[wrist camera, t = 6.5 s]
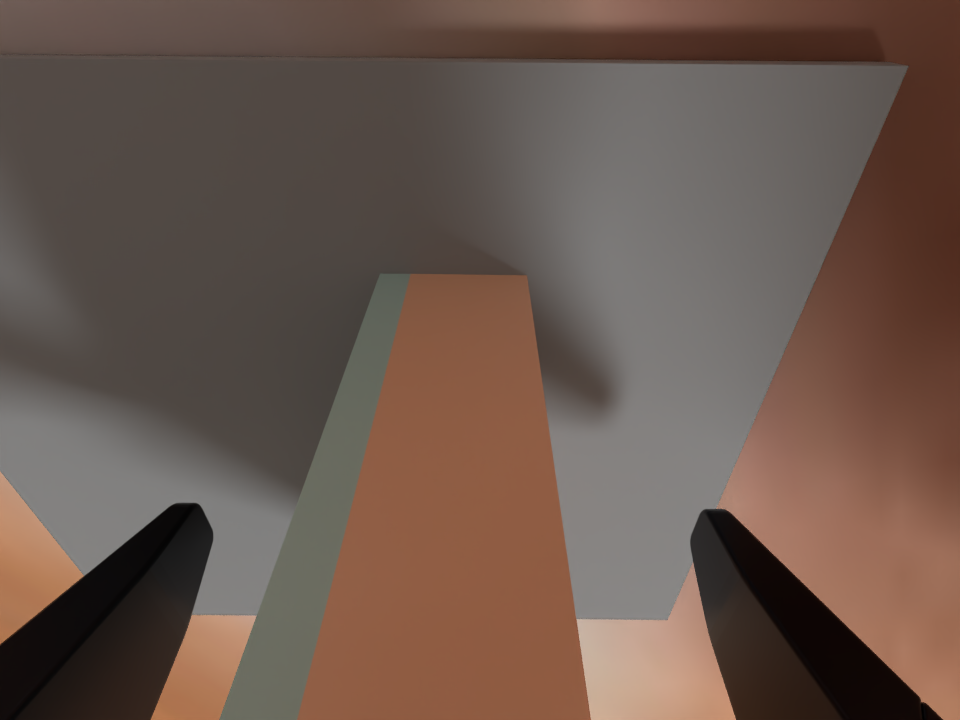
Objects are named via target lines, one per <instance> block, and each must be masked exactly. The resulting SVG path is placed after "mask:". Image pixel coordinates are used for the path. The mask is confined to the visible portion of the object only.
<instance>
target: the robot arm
mask: <svg viewBox="0 0 960 720" xmlns="http://www.w3.org/2000/svg"><path fill="white" fill-rule="evenodd" d="M212 544H213V529H212V527H211V525H210V523H209V521H208V519H207V517H206V515H205V513H204V511H203V509H202V507H201V505H199V504H198V503H175V504H173V505H171V506H169V507H168V508H167V509H166V510H164V511H163V512H162V513H161V514H159V515H158V516H157V517H156V518H155V519H153V520H152V521H151V522H150V523H148V524H147V525H146V526H145V527H144V528H142V529H141V530H140V531H139V532H137V533H136V534H135V535H134V536H132V537H131V538H130V539H129V540H128V541H126V542H125V543H124V544H123V545H121V546H120V547H119V548H118V549H117V550H115V551H114V552H113V553H112V554H110V555H109V556H108V557H107V558H106V559H104V560H103V561H102V562H101V563H99V564H98V565H97V566H96V567H95V568H93V569H92V570H91V571H90V572H88V573H87V574H86V575H85V576H83V577H82V578H81V579H80V580H79V581H77V582H76V583H75V584H74V585H72V586H71V587H70V588H69V589H68V590H66V591H65V592H64V593H63V594H61V595H60V596H59V597H58V598H57V599H55V600H54V601H53V602H52V603H50V604H49V605H48V606H47V607H45V608H44V609H43V610H42V611H41V612H39V613H38V614H37V615H36V616H34V617H33V618H32V619H31V620H30V621H28V622H27V623H26V624H25V625H23V626H22V627H21V628H20V629H19V630H17V631H16V632H15V633H14V634H12V635H11V636H10V637H9V638H7V639H6V640H5V641H4V642H3V643H1V644H0V720H151V717H152V715H153V713H154V710H155V708H156V705H157V703H158V700H159V698H160V695H161V693H162V690H163V688H164V685H165V683H166V681H167V678H168V676H169V673H170V671H171V668H172V666H173V663H174V661H175V658H176V656H177V654H178V651H179V649H180V646H181V644H182V641H183V639H184V636H185V633H186V631H187V628H188V625H189V622H190V619H191V616H192V613H193V609H194V606H195V602H196V599H197V595H198V592H199V589H200V585H201V582H202V578H203V575H204V571H205V568H206V565H207V561H208V558H209V554H210V551H211V547H212ZM690 548H691V553H692V558H693V563H694V568H695V572H696V577H697V582H698V587H699V591H700V596H701V601H702V606H703V610H704V615H705V620H706V624H707V628H708V633H709V636H710V640H711V643H712V646H713V650H714V653H715V656H716V659H717V662H718V665H719V668H720V671H721V674H722V677H723V680H724V684H725V687H726V690H727V693H728V696H729V699H730V702H731V705H732V708H733V711H734V714H735V718H736V720H943V719H942V718H941V717H940V716H939V715H938V714H937V713H936V712H934V711H933V710H932V709H931V708H930V707H929V706H928V705H927V704H926V703H924V702H921V699H920V697H919V696H918V695H917V694H916V693H915V692H914V691H913V690H912V689H911V688H910V687H909V686H908V685H907V684H906V683H905V682H903V681H902V680H901V679H900V678H899V677H898V676H897V675H896V674H895V673H894V672H893V671H892V670H891V669H890V668H889V667H888V666H887V665H886V664H885V663H884V662H883V661H882V660H881V659H880V658H879V657H878V656H877V655H876V654H875V653H874V652H873V651H872V650H871V649H870V648H869V647H868V646H867V645H866V644H865V643H863V642H862V641H861V640H860V639H859V638H858V637H857V636H856V635H855V634H854V633H853V632H852V631H851V630H850V629H849V628H848V627H847V626H846V625H845V624H844V623H843V622H842V621H841V620H840V619H839V618H838V617H837V616H836V615H835V614H834V613H833V612H832V611H831V610H830V609H829V608H828V607H827V606H826V605H825V604H824V603H822V602H821V601H820V600H819V599H818V598H817V597H816V596H815V595H814V594H813V593H812V592H811V591H810V590H809V589H808V588H807V587H806V586H805V585H804V584H803V583H802V582H801V581H800V580H799V579H798V578H797V577H796V576H795V575H794V574H793V573H792V572H791V571H790V570H789V569H788V568H787V567H786V566H785V565H784V564H783V563H781V562H780V561H779V560H778V559H777V558H776V557H775V556H774V555H773V554H772V553H771V552H770V551H769V550H768V549H767V548H766V547H765V546H764V545H763V544H762V543H761V542H760V541H759V540H758V539H757V538H756V537H755V536H754V535H753V534H752V533H751V532H750V531H749V530H748V529H747V528H746V527H745V526H744V525H743V524H741V523H740V522H739V521H738V520H737V519H736V518H735V517H734V516H733V515H732V514H731V513H730V512H729V511H727V510H724V509H704V510H702V511H701V513H700V514H699V517H698V519H697V522H696V524H695V527H694V529H693V531H692V534H691V538H690Z"/></svg>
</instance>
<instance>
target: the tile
mask: <svg viewBox="0 0 960 720" xmlns="http://www.w3.org/2000/svg"><path fill="white" fill-rule="evenodd" d="M219 720H591V718H590V711H589V704H588V697H587V690H586V683H585V676H584V669H583V662H582V655H581V648H580V641H579V634H578V627H577V620H576V613H575V606H574V599H573V593H572V586H571V579H570V572H569V565H568V558H567V551H566V544H565V537H564V530H563V523H562V516H561V509H560V502H559V495H558V488H557V481H556V474H555V467H554V460H553V453H552V446H551V439H550V432H549V425H548V418H547V411H546V404H545V397H544V390H543V383H542V376H541V370H540V363H539V356H538V349H537V342H536V335H535V328H534V321H533V314H532V307H531V300H530V293H529V286H528V279H527V275H465V274H383V273H380V275H379V278H378V280H377V283H376V286H375V289H374V292H373V294H372V297H371V300H370V303H369V305H368V308H367V311H366V314H365V317H364V319H363V322H362V325H361V328H360V330H359V333H358V336H357V339H356V342H355V344H354V347H353V350H352V353H351V355H350V358H349V361H348V364H347V367H346V369H345V372H344V375H343V378H342V380H341V383H340V386H339V389H338V392H337V394H336V397H335V400H334V403H333V405H332V408H331V411H330V414H329V417H328V419H327V422H326V425H325V428H324V430H323V433H322V436H321V439H320V442H319V444H318V447H317V450H316V453H315V455H314V458H313V461H312V464H311V467H310V469H309V472H308V475H307V478H306V481H305V483H304V486H303V489H302V492H301V494H300V497H299V500H298V503H297V506H296V508H295V511H294V514H293V517H292V519H291V522H290V525H289V528H288V531H287V533H286V536H285V539H284V542H283V544H282V547H281V550H280V553H279V556H278V558H277V561H276V564H275V567H274V569H273V572H272V575H271V578H270V581H269V583H268V586H267V589H266V592H265V594H264V597H263V600H262V603H261V606H260V608H259V611H258V614H257V617H256V619H255V622H254V625H253V628H252V631H251V633H250V636H249V639H248V642H247V644H246V647H245V650H244V653H243V656H242V658H241V661H240V664H239V667H238V669H237V672H236V675H235V678H234V681H233V683H232V686H231V689H230V692H229V694H228V697H227V700H226V703H225V706H224V708H223V711H222V714H221V717H220V719H219Z"/></svg>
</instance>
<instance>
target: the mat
mask: <svg viewBox="0 0 960 720" xmlns="http://www.w3.org/2000/svg"><path fill="white" fill-rule="evenodd" d="M908 67H909V66H907V65H902V64H897V63H892V62H837V61H716V60H595V59H474V58H353V57H233V56H112V55H0V471H1V473H2V474H3V475H4V476H5V478H6V479H7V480H8V481H9V483H10V484H11V485H12V486H13V488H14V489H15V490H16V491H17V493H18V494H19V495H20V496H21V498H22V499H23V500H24V501H25V503H26V504H27V505H28V506H29V508H30V509H31V510H32V511H33V513H34V514H35V515H36V516H37V518H38V519H39V520H40V521H41V523H42V524H43V525H44V526H45V528H46V529H47V530H48V531H49V533H50V534H51V535H52V536H53V538H54V539H55V540H56V541H57V543H58V544H59V545H60V546H61V548H62V549H63V550H64V551H65V553H66V554H67V555H68V556H69V557H70V559H71V560H72V561H73V562H74V564H75V565H76V566H77V567H78V569H79V570H80V571H81V572H82V574H83V575H84V576H85V575H86V574H87V573H88V572H90V571H91V570H92V569H93V568H95V567H96V566H97V565H98V564H99V563H101V562H102V561H103V560H104V559H106V558H107V557H108V556H109V555H110V554H112V553H113V552H114V551H115V550H117V549H118V548H119V547H120V546H121V545H123V544H124V543H125V542H126V541H128V540H129V539H130V538H131V537H132V536H134V535H135V534H136V533H137V532H139V531H140V530H141V529H142V528H144V527H145V526H146V525H147V524H148V523H150V522H151V521H152V520H153V519H155V518H156V517H157V516H158V515H159V514H161V513H162V512H163V511H164V510H166V509H167V508H168V507H169V506H171V505H173V504H175V503H198V504H199V505H201V507H202V509H203V511H204V513H205V515H206V517H207V519H208V521H209V523H210V525H211V527H212V529H213V544H212V547H211V551H210V554H209V558H208V561H207V565H206V568H205V571H204V575H203V578H202V582H201V585H200V589H199V592H198V595H197V599H196V602H195V606H194V609H193V613H192V615H257V614H258V611H259V608H260V606H261V603H262V600H263V597H264V594H265V592H266V589H267V586H268V583H269V581H270V578H271V575H272V572H273V569H274V567H275V564H276V561H277V558H278V556H279V553H280V550H281V547H282V544H283V542H284V539H285V536H286V533H287V531H288V528H289V525H290V522H291V519H292V517H293V514H294V511H295V508H296V506H297V503H298V500H299V497H300V494H301V492H302V489H303V486H304V483H305V481H306V478H307V475H308V472H309V469H310V467H311V464H312V461H313V458H314V455H315V453H316V450H317V447H318V444H319V442H320V439H321V436H322V433H323V430H324V428H325V425H326V422H327V419H328V417H329V414H330V411H331V408H332V405H333V403H334V400H335V397H336V394H337V392H338V389H339V386H340V383H341V380H342V378H343V375H344V372H345V369H346V367H347V364H348V361H349V358H350V355H351V353H352V350H353V347H354V344H355V342H356V339H357V336H358V333H359V330H360V328H361V325H362V322H363V319H364V317H365V314H366V311H367V308H368V305H369V303H370V300H371V297H372V294H373V292H374V289H375V286H376V283H377V280H378V278H379V275H380V273H383V274H465V275H527V279H528V286H529V293H530V300H531V307H532V314H533V321H534V328H535V335H536V342H537V349H538V356H539V363H540V370H541V376H542V383H543V390H544V397H545V404H546V411H547V418H548V425H549V432H550V439H551V446H552V453H553V460H554V467H555V474H556V481H557V488H558V495H559V502H560V509H561V516H562V523H563V530H564V537H565V544H566V551H567V558H568V565H569V572H570V579H571V586H572V593H573V599H574V606H575V613H576V619H623V620H668V618H669V615H670V613H671V611H672V608H673V606H674V604H675V601H676V599H677V597H678V595H679V592H680V590H681V588H682V585H683V583H684V581H685V579H686V576H687V574H688V572H689V569H690V567H691V565H692V562H693V558H692V553H691V548H690V538H691V534H692V531H693V529H694V527H695V524H696V522H697V519H698V517H699V514H700V513H701V511H702V510H704V509H716V507H717V505H718V503H719V500H720V498H721V496H722V494H723V491H724V489H725V487H726V484H727V482H728V480H729V478H730V475H731V473H732V471H733V468H734V466H735V464H736V461H737V459H738V457H739V455H740V452H741V450H742V448H743V445H744V443H745V441H746V439H747V436H748V434H749V432H750V429H751V427H752V425H753V422H754V420H755V418H756V416H757V413H758V411H759V409H760V406H761V404H762V402H763V400H764V397H765V395H766V393H767V390H768V388H769V386H770V383H771V381H772V379H773V377H774V374H775V372H776V370H777V367H778V365H779V363H780V361H781V358H782V356H783V354H784V351H785V349H786V347H787V344H788V342H789V340H790V338H791V335H792V333H793V331H794V328H795V326H796V324H797V322H798V319H799V317H800V315H801V312H802V310H803V308H804V305H805V303H806V301H807V299H808V296H809V294H810V292H811V289H812V287H813V285H814V283H815V280H816V278H817V276H818V273H819V271H820V269H821V266H822V264H823V262H824V260H825V257H826V255H827V253H828V250H829V248H830V246H831V244H832V241H833V239H834V237H835V234H836V232H837V230H838V227H839V225H840V223H841V221H842V218H843V216H844V214H845V211H846V209H847V207H848V204H849V202H850V200H851V198H852V195H853V193H854V191H855V188H856V186H857V184H858V182H859V179H860V177H861V175H862V172H863V170H864V168H865V165H866V163H867V161H868V159H869V156H870V154H871V152H872V149H873V147H874V145H875V143H876V140H877V138H878V136H879V133H880V131H881V129H882V126H883V124H884V122H885V120H886V117H887V115H888V113H889V110H890V108H891V106H892V104H893V101H894V99H895V97H896V94H897V92H898V90H899V87H900V85H901V83H902V81H903V78H904V76H905V74H906V71H907V69H908Z"/></svg>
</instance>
